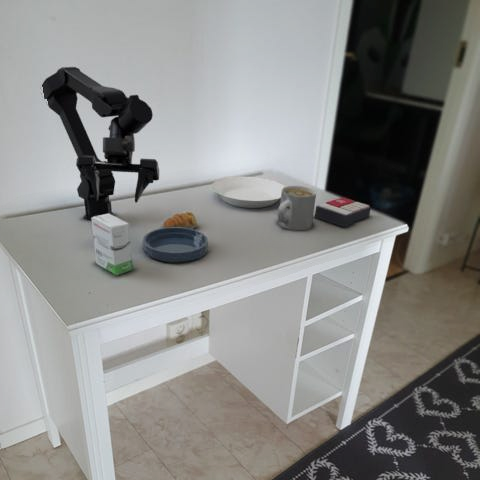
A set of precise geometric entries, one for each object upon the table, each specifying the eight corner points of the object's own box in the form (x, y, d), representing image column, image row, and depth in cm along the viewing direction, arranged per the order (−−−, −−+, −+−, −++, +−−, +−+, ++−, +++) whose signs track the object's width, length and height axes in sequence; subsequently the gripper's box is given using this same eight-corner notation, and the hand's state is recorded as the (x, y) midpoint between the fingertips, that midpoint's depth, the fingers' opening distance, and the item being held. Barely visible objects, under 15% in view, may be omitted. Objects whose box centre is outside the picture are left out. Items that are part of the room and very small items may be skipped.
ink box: (133, 270, 115) (130, 222, 109) (115, 276, 112) (111, 228, 106) (113, 257, 120) (108, 211, 114) (95, 263, 117) (89, 216, 111)
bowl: (277, 216, 150) (278, 205, 148) (200, 204, 155) (200, 193, 153) (292, 192, 171) (294, 182, 169) (224, 182, 176) (224, 172, 174)
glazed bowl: (134, 259, 120) (133, 247, 119) (156, 234, 134) (155, 223, 132) (198, 267, 118) (198, 256, 117) (213, 241, 132) (214, 231, 130)
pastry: (171, 235, 134) (170, 221, 132) (158, 227, 138) (157, 214, 136) (199, 228, 139) (199, 215, 137) (186, 220, 144) (186, 208, 142)
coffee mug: (295, 215, 152) (299, 183, 147) (318, 226, 146) (323, 193, 140) (262, 223, 145) (265, 190, 139) (285, 235, 138) (289, 201, 133)
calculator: (372, 205, 153) (346, 213, 143) (369, 218, 155) (344, 227, 145) (342, 195, 159) (316, 203, 149) (339, 208, 161) (313, 217, 151)
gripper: (72, 118, 110) (65, 182, 107) (156, 123, 111) (151, 186, 108) (85, 146, 121) (79, 204, 118) (161, 150, 122) (157, 208, 119)
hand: (116, 200), depth 115 cm, fingers open, 9 cm apart
